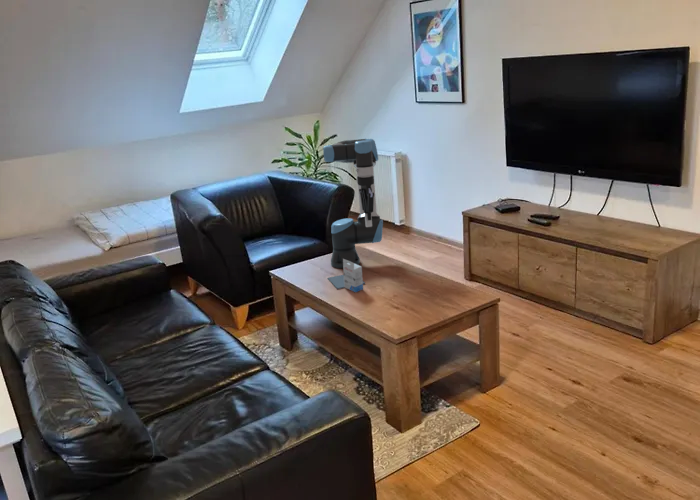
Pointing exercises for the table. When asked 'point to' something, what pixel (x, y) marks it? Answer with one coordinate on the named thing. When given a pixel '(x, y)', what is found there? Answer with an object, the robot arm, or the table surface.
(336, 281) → the mat
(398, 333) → the table surface
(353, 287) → the ink box
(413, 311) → the table surface
